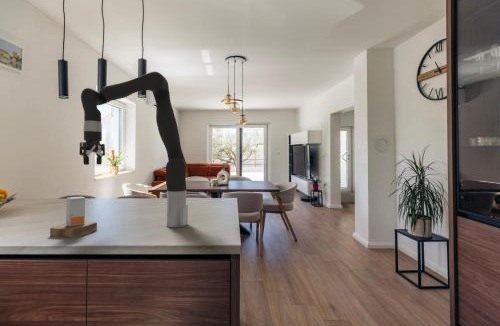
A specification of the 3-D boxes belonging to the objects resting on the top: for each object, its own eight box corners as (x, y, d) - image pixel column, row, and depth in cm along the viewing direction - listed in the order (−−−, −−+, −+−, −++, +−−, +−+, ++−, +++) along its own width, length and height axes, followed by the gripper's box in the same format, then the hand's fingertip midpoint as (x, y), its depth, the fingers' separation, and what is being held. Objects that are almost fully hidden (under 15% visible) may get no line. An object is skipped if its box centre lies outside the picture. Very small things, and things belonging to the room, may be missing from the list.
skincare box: (69, 226, 111) (69, 198, 111) (65, 225, 114) (66, 197, 114) (85, 224, 116) (85, 197, 116) (81, 222, 119) (81, 196, 118)
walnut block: (96, 231, 119) (96, 222, 119) (76, 239, 108) (76, 229, 108) (73, 230, 121) (73, 221, 121) (50, 237, 109) (50, 228, 109)
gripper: (89, 129, 119) (89, 165, 119) (109, 132, 133) (109, 164, 133) (74, 129, 120) (74, 164, 120) (96, 132, 134) (96, 164, 134)
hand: (93, 164), depth 127 cm, fingers open, 8 cm apart
